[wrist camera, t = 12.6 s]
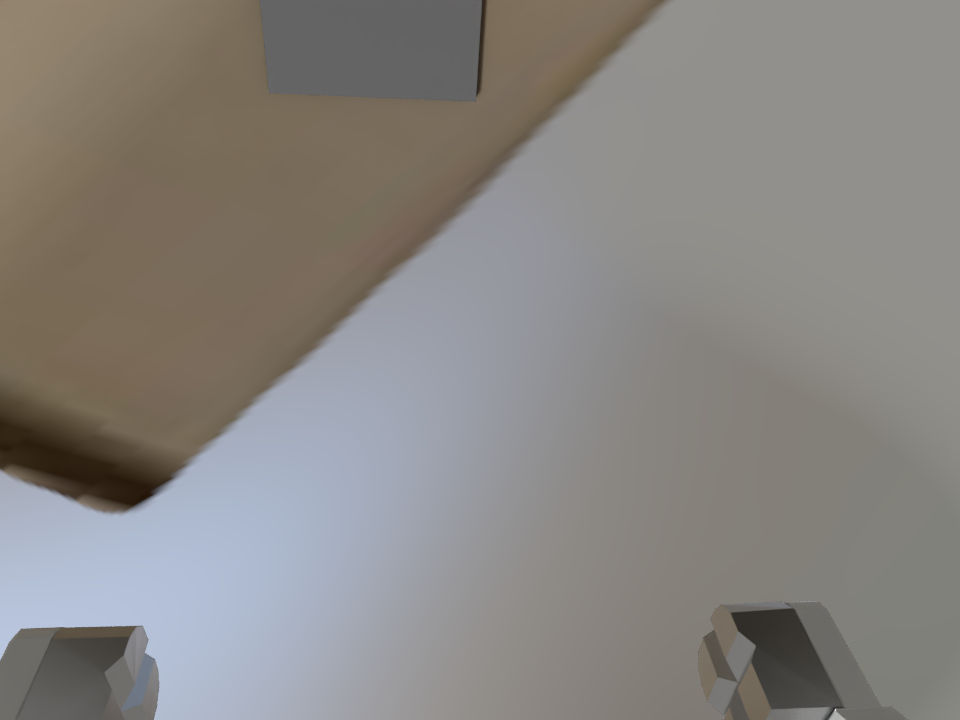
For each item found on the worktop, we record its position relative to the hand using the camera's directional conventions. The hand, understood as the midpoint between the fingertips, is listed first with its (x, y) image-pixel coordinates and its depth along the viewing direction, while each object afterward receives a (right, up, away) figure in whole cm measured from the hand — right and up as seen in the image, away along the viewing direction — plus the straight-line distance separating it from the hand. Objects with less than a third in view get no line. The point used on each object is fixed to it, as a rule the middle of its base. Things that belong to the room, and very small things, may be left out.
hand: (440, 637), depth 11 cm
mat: (-5, +24, +28) cm, 37 cm away
